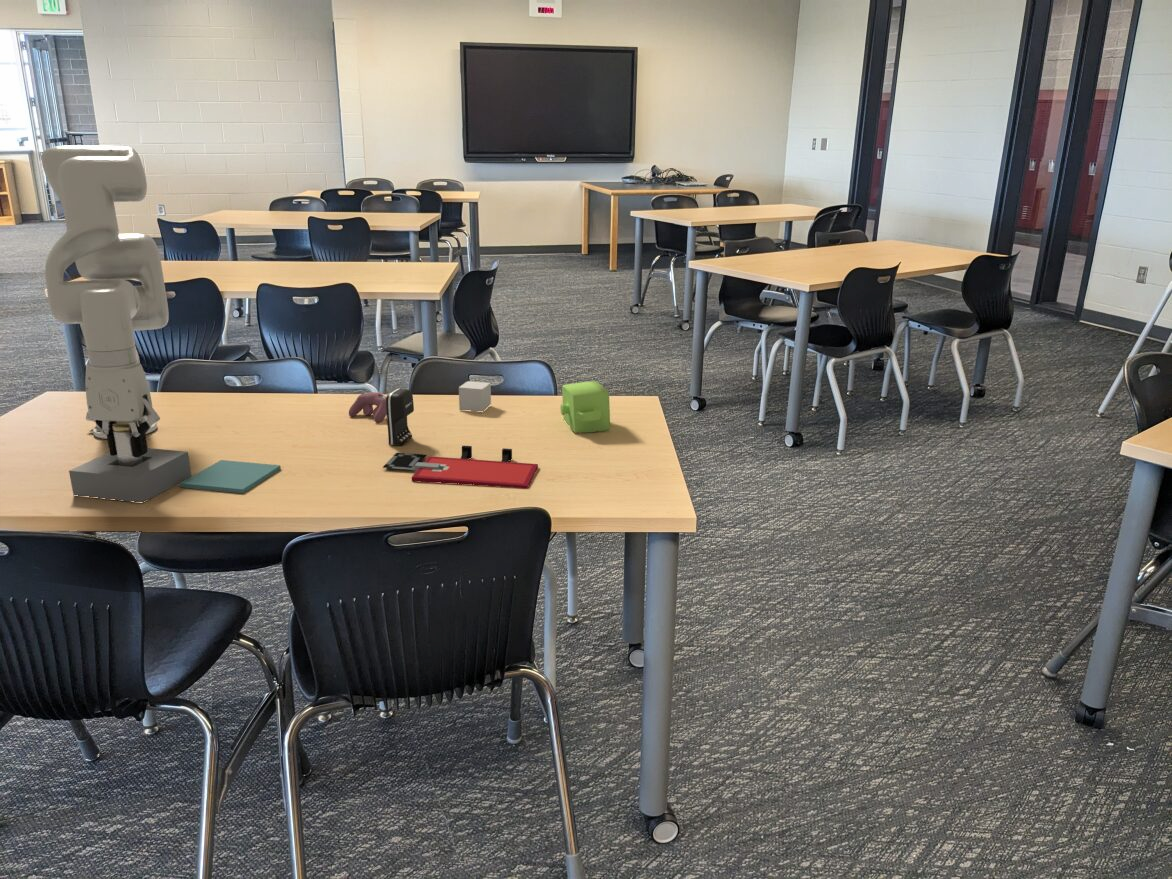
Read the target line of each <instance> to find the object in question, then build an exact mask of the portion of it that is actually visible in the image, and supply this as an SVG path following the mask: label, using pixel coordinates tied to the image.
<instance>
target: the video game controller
mask: <svg viewBox="0 0 1172 879" xmlns="http://www.w3.org/2000/svg"><path fill="white" fill-rule="evenodd" d="M386 397H387V395H384V394H382V393H380V392H374V391H369V392H361V394H359V395H358V396H357V397H356V399H355V401H354V402H353V403H352V405H351V406H350V407H349V410H348V416H349V417H350V416H351V417H355V416H357V415H358V414H360V413H361V412H363V415H366V416H368V417H369V416H370V417H371V416H373V418H374V419H373V420H374V422H375V423H377V424H378V423H381V422H383V420H384V419H385V418H387V412H386ZM373 406H376V407H375V408H374V407H373ZM351 417H350V418H351Z"/></svg>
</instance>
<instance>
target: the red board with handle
mask: <svg viewBox="0 0 1172 879" xmlns="http://www.w3.org/2000/svg"><path fill="white" fill-rule="evenodd" d="M472 450H473V446H472V445H461V456H460V457H459V458H457V457H444V456H443V457H442V456H433V455H432V456H430V455H429V456H428V454H420V453H408V452H407V453H405V452H395V453H394V455H393V456H391V458H390V459H389V460H387V462H386V463H385V464H384V465H383V466H382V469H383V468H385V469H398V470H408V471H409V470H410V471H414V474H413V475H412V476H411V482H412V481H421V482H420V483H429V482H441V483H440V484H445V483H457V484H456V485H462V484H472V485H471V486H478V485H488V486H487V487H495V486H500V488H515V489H528V488H529V486H530V484H531V483H532V481H531V480H533V479H534V477H535V475H534V474H536V473H537V471H538V469H539V464H538V463H529V462H528V463H527V462H515V461H508V460H511V459H512V460H513V448H505V447H503V448H502V449H501V461H499V460H487V459H485V460H484V459H473V451H472ZM427 456H428V457H427ZM426 457H427V458H426ZM471 457H472V458H471ZM425 458H426V459H425ZM467 458H471V459H467ZM424 460H425V461H424ZM537 468H538V469H537ZM536 470H537V471H536ZM535 472H536V473H535ZM533 476H534V477H533ZM532 478H533V479H532ZM458 483H459V484H458ZM473 484H474V485H473Z"/></svg>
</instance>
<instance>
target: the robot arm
mask: <svg viewBox="0 0 1172 879" xmlns="http://www.w3.org/2000/svg"><path fill="white" fill-rule="evenodd" d="M41 165H42V168H43V172H44V175H45V177H46V179H47V182H48V183H49V185H50V187H51V188H52V191H53V192H54V193H55V195H56V197H57V199H58V200H59V202H60V203H61V205H62V208H63V215H64V221H65V226H66V231H65V233H64V234H63V235H62V236H61V237H60V238H59V239H58V240H56V242H55V244H53V246H52V248H51V250H50V251H49V253H48V256H47V258H46V262H45V269H44V274H45V277H44V278H45V284H46V291H47V299H48V304H49V309H50V312H51V314H52V316H53V317H54V319H55V320H56V321H58V322H59V323H61V324H66V325H76V324H78V325H79V326H80V329H81V332H82V335H83V339H84V343H85V347H86V349H85V350H84V351H83V355H84V357H87V358H88V362H89V364H87V365H86V368H85V369H86V370H85V377H84V378H85V383H84V385H85V396H86V397H85V398H86V406H87V412H86V416H85V420H86V421H88V422H93V423H95V426H94V428H92V433H93V435H94V437H96V438H99V439H105V440H107V444H108V449H109V452H110V455H112V456H115V455H117V452H116V446H115V441H114V435H113V429H112V424H114V423H116V422H129V424H130V427H131V430H132V433H133V435H134V436H132V437H131V444H132V450H133V456H134V457H140V456H142V455H144V454H145V453H147V448H148V442H147V436H146V435H148V434H149V433H153V432H154V431H156V430H157V428H158V422H159V421H160V420H161V417H160V415H159V414H158V413H157V412H156V410H155V408H153V403H152V402H153V401H152V396H151V391H150V387H149V384H148V380H147V376H146V374H145V370H144V368H143V366H142V365H143V364H141V363H140V362H141V361H140V356H139V352H138V350H137V346H136V341H135V335H134V333H135V332H136V331H137V332H138V331H139V332H140V331H151V330H159V329H162V328H164V327H166V326H167V325H168V322H169V316H170V315H169V314H170V313H169V305H168V304H169V303H168V298H167V292H166V285H165V279H164V273H163V265H162V262H161V255H160V252H159V248H158V245H157V243H156V241H155V240H154V239H153V237H151V236H150V235H148V234H145V233H137V232H136V233H135V232H134V233H120V230H119V229H120V228H119V224H118V218H117V212H116V207H115V203H133V202H134V203H135V202H141V201H142V202H143V200H144V199H145V198H146V196H147V192H148V191H147V189H148V183H147V176H146V172H145V168H144V166H143V162H142V159H141V157H140V155H139V153H138V152H137V150H135V148H132V147H131V146H126V145H125V146H124V145H89V144H88V145H86V144H84V145H80V144H79V145H78V144H77V145H75V144H71V145H69V144H68V145H67V144H65V145H57V146H51V147H48V148H46V149H44V151H43V152H42V154H41ZM74 263H75V267H76V270H77V272H78V274H79V275H80V276H81V278H84V279H85V280H73V281H72V280H71V281H69V280H68V281H64V274H65V271H66V270H67V269H68V268H69V266H71V265H72V264H74ZM129 280H136V281H139V282H140V283H141V285H133V283H132V282H130V281H129Z"/></svg>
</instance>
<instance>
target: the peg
mask: <svg viewBox="0 0 1172 879" xmlns="http://www.w3.org/2000/svg"><path fill="white" fill-rule="evenodd" d="M112 429H113V435H114V441H115V446H116V452H117V458H118V464H119V466H128V467H134V466H136V465H138V464H140V463H142V462H143V460H142V456H140V457H134V456H133V450H132V444H131V437H132V436H134V435H133V433H132V430H131V427H130V424H129V422H116V423H114V424H112Z"/></svg>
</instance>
